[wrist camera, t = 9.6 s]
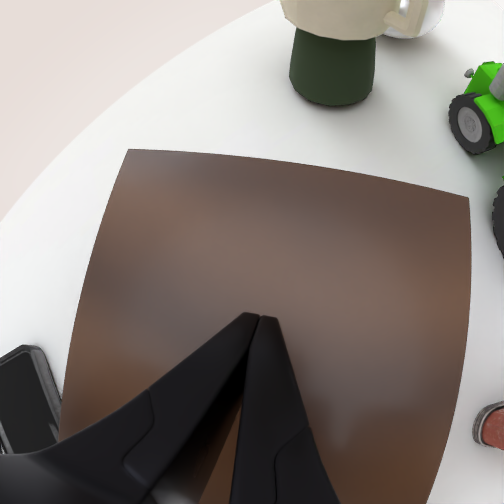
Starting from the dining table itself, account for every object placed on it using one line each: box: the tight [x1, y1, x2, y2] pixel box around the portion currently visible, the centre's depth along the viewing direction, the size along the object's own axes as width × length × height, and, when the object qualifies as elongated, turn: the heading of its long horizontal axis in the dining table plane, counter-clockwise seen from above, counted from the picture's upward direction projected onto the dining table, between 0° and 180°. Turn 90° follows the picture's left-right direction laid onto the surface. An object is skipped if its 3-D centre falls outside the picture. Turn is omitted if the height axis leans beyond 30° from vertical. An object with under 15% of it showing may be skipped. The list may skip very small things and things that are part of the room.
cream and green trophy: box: [280, 0, 429, 106], centre depth 15 cm, size 11×7×13 cm, turn 40°
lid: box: [58, 149, 471, 504], centre depth 9 cm, size 12×13×1 cm
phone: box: [0, 345, 62, 454], centre depth 15 cm, size 8×1×15 cm
